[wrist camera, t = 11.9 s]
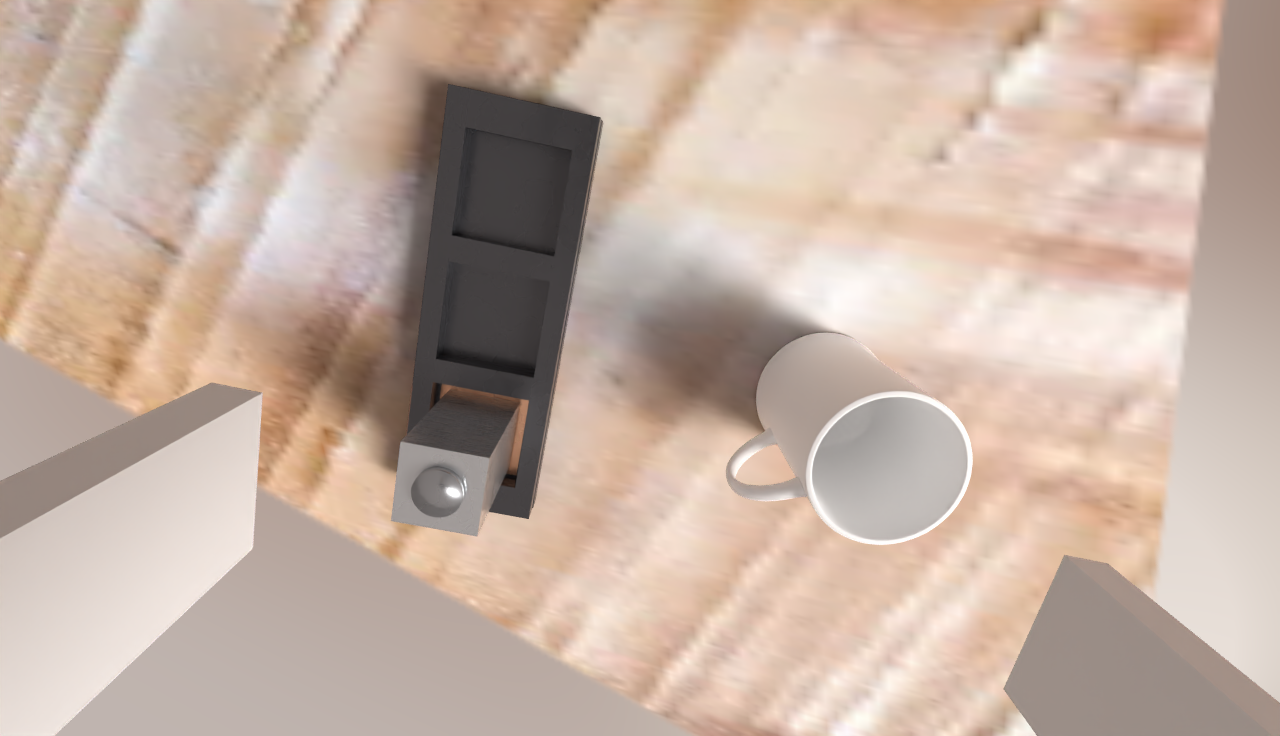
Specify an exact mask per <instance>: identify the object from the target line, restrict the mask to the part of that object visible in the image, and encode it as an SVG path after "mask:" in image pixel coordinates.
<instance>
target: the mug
mask: <svg viewBox="0 0 1280 736" xmlns="http://www.w3.org/2000/svg"><path fill="white" fill-rule="evenodd" d="M756 407H757V412H758V416H759V419H760V422H761V424H762V426H763V428H764V429H765V431H764V432H763V433H761V434H759V435H757V436H756V437H754V438H752V439H751V440H749V441H748V442H747V443H745V444H744V445H743V446H742V447H740V448H739V449H738V450H737V451H736V452H735V453H734V455H733V456H732V457H731V459H730V460H729V462H728V465H727V468H726V478H727V481H728V484H729V486H730V487H731V489H732V490H733V491H734V492H735V493H737V494H738V495H740V496H742V497H744V498H747V499H751V500H757V501H778V500H786V499H791V498H797V497H807V498H808V499H809V501H810V503H811V505H812V506H813V508H814V510H815V511H816V513H817V514H818V515H819V517H820V518H821V519H822V520H823V521H824V522H825V523H826V524H827V525H828V526H829V527H830V528H831V529H833V530H834V531H836V532H837V533H839V534H840V535H842V536H844V537H846V538H849V539H851V540H854V541H858V542H862V543H867V544H877V545H884V544H894V543H900V542H904V541H908V540H911V539H913V538H916V537H918V536H921V535H923V534H925V533H926V532H928V531H930V530H931V529H933V528H935V527H936V526H937V525H939V524H940V523H941V522H942V521H943V520H945V519H946V518H947V517H948V516H949V515H950V514H951V512H952V511H953V510H954V509H955V508H956V506H957V505H958V503H959V502H960V500H961V499H962V497H963V495H964V493H965V491H966V489H967V486H968V483H969V480H970V476H971V471H972V448H971V444H970V440H969V437H968V434H967V432H966V430H965V428H964V426H963V424H962V423H961V421H960V420H959V419H958V417H957V416H956V415H955V414H954V413H953V412H952V411H951V410H950V409H949V408H948V407H946V406H945V405H944V404H942V403H941V402H940V401H938V400H937V399H935V398H934V397H932V396H931V395H929V394H928V393H927V392H925V391H924V390H922V389H921V388H919V387H918V386H916V385H915V384H913V383H912V382H910V381H909V380H908V379H906V378H905V377H903V376H902V375H900V374H899V373H897V372H896V371H894V370H893V369H891V368H890V367H888V366H887V365H886V364H884V363H883V362H881V361H880V360H878V359H877V358H876V356H875V355H874V354H873V353H872V352H871V351H870V350H869V349H868V348H867V347H866V346H865V345H863V344H862V343H860V342H859V341H857V340H855V339H853V338H851V337H848V336H845V335H842V334H837V333H815V334H810V335H806V336H803V337H800V338H798V339H795V340H793V341H792V342H790V343H788V344H787V345H785V346H784V347H782V348H781V349H780V350H779V351H778V352H777V353H776V354H775V355H774V356H773V357H772V358H771V359H770V360H769V362H768V363H767V365H766V366H765V368H764V370H763V372H762V374H761V376H760V379H759V382H758V386H757V391H756ZM774 444H777V445H778V446H779V448H780V450H781V452H782V453H783V455H784V457H785V459H786V461H787V462H788V464H789V466H790V468H791V469H792V471H793V473H794V475H795V476H796V478H793V479H791V480H789V481H786V482H783V483H779V484H773V485H762V486H756V485H747V484H744V483H741V482H739V481H737V480H736V479H735V477H736V473H737V471H738V469H739V468H740V466H741V465H742V464H743V463H744V462H745V461H746V460H747V459H748V458H749V457H751V456H752V455H753V454H755V453H756V452H758V451H760V450H761V449H763V448H765V447H767V446H770V445H774Z"/></svg>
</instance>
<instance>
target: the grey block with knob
mask: <svg viewBox="0 0 1280 736" xmlns="http://www.w3.org/2000/svg"><path fill="white" fill-rule="evenodd" d="M519 406H520V402H515V401H510V400H505V399H500V398H495V397H489V396H484V395H479V394H474V393H469V392H463V391H458V390H453V389H450V390H449V391H448V392H447V393H446V394H445V395H444V396H443V397H442V398H441V399H440V400H439V401H438V402H437V403H436V404H435V406H434V407H433V408H432V409H431V410H430V411H429V412H428V413H427V414H426V415H425V416H424V417H423V418H422V419H421V420H420V421H419V422H418V424H417V425H416V426H415V427H414V428H413V429H412V430H411V431H410V432H409V433H408V434H407V435H406V436H405V437H404V438H403V439H402V440H401V442H400V450H399V458H398V467H397V475H396V484H395V492H394V501H393V509H392V518H391V521H394V522H400V523H406V524H411V525H417V526H422V527H428V528H434V529H439V530H445V531H450V532H456V533H462V534H467V535H473V536H478V534H479V531H480V529H481V527H482V525H483V523H484V521H485V518H486V516H487V514H488V512H489V510H490V508H491V505H492V503H493V501H494V499H495V497H496V494H497V492H498V490H499V488H500V486H501V484H502V481H503V479H504V477H505V475H506V473H507V471H508V468H509V466H510V460H511V454H512V448H513V442H514V436H515V430H516V424H517V418H518V412H519Z"/></svg>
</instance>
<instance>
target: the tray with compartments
mask: <svg viewBox="0 0 1280 736" xmlns="http://www.w3.org/2000/svg"><path fill="white" fill-rule="evenodd" d="M602 127H603V121H602V120H601V118H600V117H596V116H591V115H587V114H582V113H578V112H573V111H569V110H564V109H560V108H555V107H551V106H546V105H541V104H537V103H532V102H528V101H523V100H519V99H514V98H510V97H505V96H501V95H496V94H491V93H487V92H482V91H478V90H473V89H469V88H464V87H460V86H455V85H451V84H448V91H447V100H446V108H445V116H444V125H443V133H442V142H441V150H440V158H439V167H438V175H437V183H436V192H435V200H434V209H433V217H432V225H431V234H430V242H429V251H428V259H427V267H426V276H425V284H424V293H423V301H422V309H421V318H420V326H419V335H418V343H417V351H416V360H415V368H414V377H413V384H412V390H411V398H410V406H409V415H408V423H407V432H406V435H407V434H408V433H409V432H410V431H411V430H412V429H413V428H414V427H415V426H416V425H417V424H418V422H419V421H420V420H421V419H422V418H423V417H424V416H425V415H426V414H427V413H428V412H429V411H430V410H431V409H432V408H433V407H434V406H435V404H436V403H437V402H438V401H439V400H440V399H441V398H442V397H443V396H444V395H445V394H446V393H447V392H448V391H449V390H450V389H453V390H458V391H463V392H469V393H474V394H479V395H484V396H489V397H495V398H500V399H505V400H510V401H515V402H520V406H519V412H518V418H517V424H516V430H515V436H514V442H513V448H512V454H511V460H510V466H509V468H508V471H507V473H506V475H505V477H504V479H503V481H502V484H501V486H500V488H499V490H498V492H497V494H496V497H495V499H494V501H493V503H492V505H491V508H490V510H489V512H493V513H499V514H504V515H510V516H515V517H521V518H526V519H529V516H530V513H531V510H532V508H533V506H534V503H535V499H536V494H537V488H538V483H539V477H540V472H541V466H542V461H543V455H544V449H545V444H546V438H547V433H548V427H549V422H550V416H551V410H552V405H553V399H554V394H555V388H556V383H557V377H558V372H559V366H560V360H561V355H562V349H563V344H564V338H565V333H566V327H567V321H568V316H569V310H570V305H571V299H572V294H573V288H574V283H575V277H576V271H577V266H578V260H579V255H580V249H581V244H582V238H583V232H584V227H585V221H586V216H587V210H588V205H589V199H590V194H591V188H592V182H593V177H594V171H595V166H596V160H597V155H598V149H599V143H600V138H601V132H602Z"/></svg>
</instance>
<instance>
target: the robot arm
mask: <svg viewBox="0 0 1280 736" xmlns="http://www.w3.org/2000/svg"><path fill="white" fill-rule="evenodd" d="M262 394H263V393H261V392H256V391H251V390H246V389H241V388H236V387H231V386H226V385H221V384H216V383H210V384H208V385H206V386H203V387H201V388H199V389H197V390H195V391H193V392H191V393H188V394H186V395H184V396H182V397H180V398H178V399H176V400H173V401H171V402H169V403H167V404H165V405H163V406H160V407H158V408H156V409H154V410H152V411H150V412H148V413H145V414H143V415H141V416H139V417H137V418H135V419H132V420H130V421H128V422H126V423H124V424H122V425H120V426H117V427H115V428H113V429H111V430H109V431H107V432H105V433H102V434H100V435H98V436H96V437H94V438H92V439H90V440H87V441H85V442H83V443H81V444H79V445H77V446H75V447H72V448H70V449H68V450H66V451H64V452H61V453H59V454H57V455H55V456H53V457H51V458H49V459H47V460H44V461H42V462H40V463H38V464H36V465H34V466H31V467H29V468H27V469H25V470H23V471H21V472H18V473H16V474H14V475H12V476H10V477H8V478H6V479H3V480H1V481H0V736H54V735H55V734H56V733H58V732H59V731H60V730H61V729H62V728H63V727H64V726H65V725H66V724H67V723H68V722H69V721H70V720H71V719H72V718H73V717H74V716H76V714H78V713H79V712H80V711H81V710H82V709H83V708H84V707H85V706H86V705H87V704H88V703H89V702H90V701H91V700H93V699H94V698H95V697H96V696H97V695H98V694H99V693H100V692H101V691H102V690H103V689H104V688H105V687H106V686H107V685H108V684H109V683H111V682H112V680H114V679H115V678H116V677H117V676H118V675H119V674H120V673H121V672H122V671H123V670H124V669H125V668H126V667H127V666H128V665H130V664H131V663H132V662H133V661H134V660H135V659H136V658H137V657H138V656H139V655H140V654H141V653H142V652H143V651H144V650H146V649H147V647H149V646H150V645H151V644H152V643H153V642H154V641H155V640H156V639H157V638H158V637H159V636H160V635H161V634H162V633H164V632H165V631H166V630H167V629H168V628H169V627H170V626H171V625H172V624H173V623H174V622H175V621H176V620H177V619H178V618H179V617H181V615H183V614H184V613H185V612H186V611H187V610H188V609H189V608H190V607H191V606H192V605H193V604H194V603H195V602H196V601H197V600H199V598H201V597H202V596H203V595H204V594H205V593H206V592H207V591H208V590H209V589H210V588H211V587H212V586H213V585H214V584H215V583H216V582H218V581H219V580H220V579H221V578H222V577H223V576H224V575H225V574H226V573H227V572H228V571H229V570H230V569H231V568H232V567H233V566H234V565H236V563H238V562H239V561H240V560H241V559H242V558H243V557H244V556H245V555H246V554H247V553H248V552H249V551H250V550H252V549H253V537H254V521H255V505H256V489H257V474H258V458H259V442H260V426H261V410H262ZM1004 690H1005V692H1006V693H1007V695H1008V696H1009V697H1010V699H1011V700H1012V701H1013V703H1014V704H1015V706H1016V707H1017V708H1018V710H1019V711H1020V713H1021V714H1022V715H1023V717H1024V718H1025V719H1026V721H1027V722H1028V724H1029V725H1030V726H1031V728H1032V729H1033V731H1034V732H1035V733H1036V735H1037V736H1280V703H1279V702H1278V701H1277V700H1275V699H1274V698H1273V697H1272V696H1270V695H1269V694H1268V693H1267V692H1266V691H1264V690H1263V689H1262V688H1260V687H1259V686H1258V685H1257V684H1256V683H1254V682H1253V681H1252V680H1251V679H1249V678H1248V677H1247V676H1246V675H1244V674H1243V673H1242V672H1241V671H1240V670H1238V669H1237V668H1236V667H1234V666H1233V665H1232V664H1231V663H1230V662H1228V661H1227V660H1226V659H1225V658H1224V657H1222V656H1221V655H1220V654H1219V653H1217V652H1216V651H1215V650H1214V649H1212V648H1211V647H1210V646H1209V645H1208V644H1206V643H1205V642H1204V641H1203V640H1201V639H1200V638H1199V637H1198V636H1196V635H1195V634H1194V633H1193V632H1191V631H1190V630H1189V629H1188V628H1186V627H1185V626H1184V625H1183V624H1181V623H1180V622H1179V621H1178V620H1177V619H1175V618H1174V617H1173V616H1172V615H1170V614H1169V613H1168V612H1167V611H1166V610H1164V609H1163V608H1162V607H1160V606H1159V605H1158V604H1157V603H1156V602H1154V601H1153V600H1152V599H1151V598H1149V597H1148V596H1147V595H1146V594H1145V593H1143V592H1142V591H1141V590H1140V589H1138V588H1137V587H1136V586H1135V585H1133V584H1132V583H1131V582H1130V581H1128V580H1127V579H1126V578H1125V577H1124V576H1122V575H1121V574H1120V573H1119V572H1117V571H1116V570H1115V569H1114V568H1112V567H1111V566H1110V565H1109V564H1107V563H1102V562H1097V561H1092V560H1087V559H1082V558H1077V557H1072V556H1067V555H1064V557H1063V559H1062V562H1061V564H1060V566H1059V568H1058V570H1057V573H1056V575H1055V577H1054V579H1053V581H1052V584H1051V586H1050V588H1049V590H1048V592H1047V595H1046V597H1045V599H1044V601H1043V603H1042V606H1041V608H1040V610H1039V612H1038V614H1037V617H1036V619H1035V621H1034V623H1033V625H1032V628H1031V630H1030V632H1029V634H1028V636H1027V638H1026V641H1025V643H1024V645H1023V647H1022V649H1021V652H1020V654H1019V656H1018V658H1017V660H1016V663H1015V665H1014V667H1013V669H1012V671H1011V674H1010V676H1009V678H1008V680H1007V682H1006V685H1005V687H1004Z"/></svg>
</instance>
